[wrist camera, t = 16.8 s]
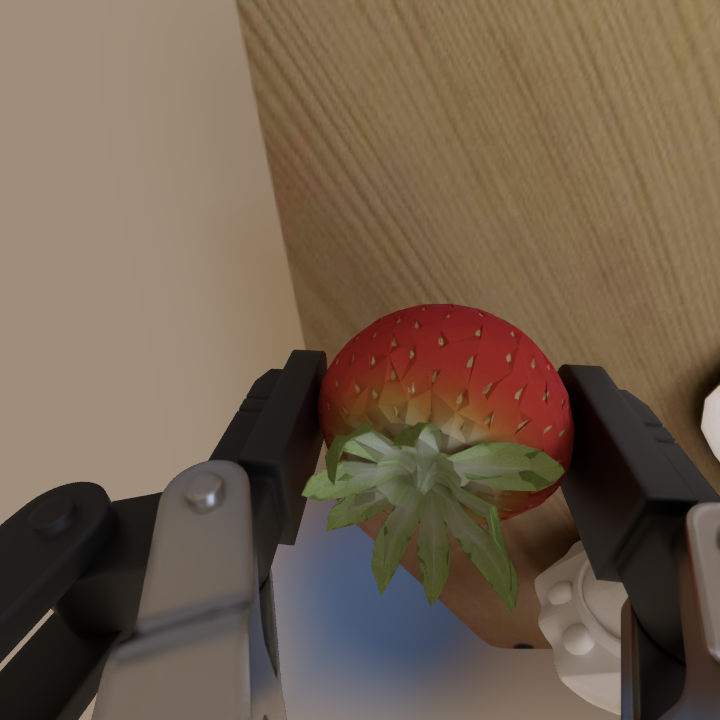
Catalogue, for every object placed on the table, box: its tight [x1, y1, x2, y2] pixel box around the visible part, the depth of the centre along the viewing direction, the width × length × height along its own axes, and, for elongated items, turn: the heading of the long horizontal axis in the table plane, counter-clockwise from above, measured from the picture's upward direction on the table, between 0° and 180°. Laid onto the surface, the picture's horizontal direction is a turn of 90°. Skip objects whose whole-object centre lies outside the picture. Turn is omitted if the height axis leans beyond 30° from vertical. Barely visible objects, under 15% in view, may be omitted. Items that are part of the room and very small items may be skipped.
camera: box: [535, 540, 628, 716], centre depth 32 cm, size 11×18×16 cm, turn 134°
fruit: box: [302, 304, 575, 611], centre depth 9 cm, size 5×5×8 cm
